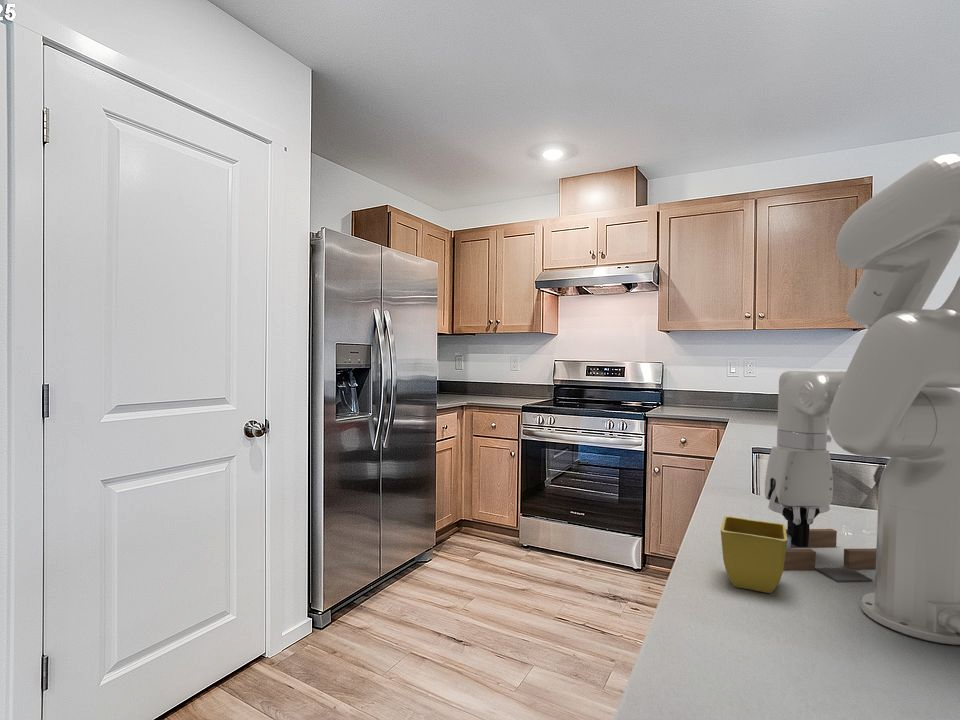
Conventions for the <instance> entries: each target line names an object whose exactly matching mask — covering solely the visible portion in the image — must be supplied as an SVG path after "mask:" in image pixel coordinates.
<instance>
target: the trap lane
mask: <svg viewBox="0 0 960 720" xmlns="http://www.w3.org/2000/svg"><path fill="white" fill-rule="evenodd" d="M786 533H787V528H786ZM837 534H838V531H837V530H835V529H833V528H809V540H808V547H807V548H799V549H798V547H797V546H795V545H793V544H791V549H786V554H785V561H784V569H783V571H817V572H819V573H820V574H822V575H824V576H826V577H827V578H829V579H831V580H833V581H835V582H836V583H848V582H849V583H856V582H857V583H858V582H863V583H865V582H873V578H870V577H868V576H867V575H864V574H863V573H861V572H859V571H857V570H876V548H874V547H873V548H843V567H816V559H817V557H816V555H817V552H816V551H815V550H814V549H811V548H837V539H838V538H837V536H838V535H837ZM794 548H795V549H794Z"/></svg>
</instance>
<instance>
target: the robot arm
mask: <svg viewBox="0 0 960 720" xmlns="http://www.w3.org/2000/svg"><path fill="white" fill-rule="evenodd" d="M959 244H960V151H957V152H950V153H944V154H941V155H938V156H935V157H933V158H929V159H928V160H925V161H924V162H922V163H920V164H919V165H917V166H916V167H914V168H912V169H911V170H910V171H909V172H907V173H905V174H904V175H902V176H901V177H899V178H898V179H896V180H895V181H894V182H892V183H891V184H890V185H888V186H887V187H885V188H884V189H882V190H881V191H879V192H878V193H876V194H875V195H874V196H872V197H871V198H869V200H867V201H865V202H864V203H863V204H861V206H860V207H857V209H856V210H855V211H854V212H853V213H852V214H851V215H850V216H849V217H848V218H847V220H845V222H844V223H843V225H842V227H841V228H840V231H839V232H838V234H837V238H836V242H835V250H836V256H837V258H838V260H839V262H841V263H842V264H843V265H844V266H846V267H848V268H851V269H853V270H855V269H856V270H863V272H862V274H861V276H860V278H859V280H858V283H857V284H856V286H855V288H854V290H853V292H852V294H851V296H850V298H849V300H848V302H847V304H846V306H845V307H846V308H845V309H846V314H847V316H848V317H849V318H850V319H851V320H852V321H853V322H854V323H855V324H857V325H858V326H860V327H862V328H864V329H866V330H867V331H866V332H865V334H864V335H863V337H862V338H861V340H860V342H859V344H858V346H857V348H856V349H855V350H856V351H855V352H854V354H853V356H852V359H851V360H850V363H849V365H848V367H847V369H846V371H807V370H804V371H803V370H789V371H785V372H782V373H781V375H779V379H778V396H777V397H778V400H777V430H776V446H772V447H771V449H770V453H769V456H768V461H767V465H766V466H767V467H766V473H765V480H764V481H765V482H764V498H765V499H767V500H768V501H769V503H768V507H767V508H768V510H770V511H772V512H774V513H779V514H781V515H782V516H783V518H784V519H785V520H786V521H787V527H786V529H787V534H789V535H790V536H791V544H793V545H795V546H797V547H796V548H809V547H808V540H809V529H810V526H811V525H813V523H814V521H815V518H817V516H818V515H821V514H824V513H827V512H829V511H830V509H831V508H830V505H831V504H832V502H833V495H834V475H833V466H832V459H831V455H830V451H829V450H827V444H828V443H831V442H832V439H833V440H834V442H835V443H836V444H837V446H839V448H841V449H842V450H844V451H846V452H848V453H849V454H853V455H856V456H859V457H867V458H889V460H888V461H887V463H886V465H885V466H884V468H883V471H882V473H881V476H880V480H879V484H878V494H877V495H878V497H877V520H876V523H877V525H876V528H877V529H876V569H875V575H874V576H875V579H874V581H875V583H874V592H869V593H866V594H863V596H862V597H861V599H860V608H861V610H862V612H863V613H865V614H866V615H867V617H869V618H870V619H872V620H873V621H874V622H876V623H878V624H880V625H882V626H884V627H887V628H888V629H891V630H892V631H895V632H898V633H901V634H903V635H906V636H910V637H912V638H917V639H920V640H924V641H928V642H933V643H938V644H939V643H940V644H946V645H957V646H960V391H958V390H956V389H959V388H960V276H959V277H958V278H957V281H956V283H955V285H954V287H953V289H952V290H951V292H950V293H949V295H948V297H947V298H946V300H945V301H944V303H943V304H942V305H941V306H940V307H938V308H935V309H926V308H925V309H923V307H924V306H925V304H926V302H927V301H928V299H929V297H930V296H931V294H932V292H933V290H934V288H935V287H936V286H937V283H938V281H939V280H940V279H941V276H942V275H943V273H944V272H945V270H946V268H947V266H948V265H949V263H950V261H951V259H952V257H953V256H954V253H955V252H956V250H957V248H958V246H959ZM954 388H955V389H954ZM828 427H829V432H830V434H831V435H829V434H828Z"/></svg>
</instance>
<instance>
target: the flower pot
mask: <svg viewBox="0 0 960 720" xmlns="http://www.w3.org/2000/svg"><path fill="white" fill-rule="evenodd" d="M786 529H787V527H786V525H785V524H784V523H780V522H779V523H778V522H769V521H764V520H755V519H747V518H742V517H736V516H729V515H728V516H727V515H726V516H723V520H722V523H721V528H720V537H721V538H720V540H721V549H722V550H721V551H722V560H723V564H724V568H725V571H726V574H727V577H728V578H729V580H730V582H731V583H732V586H733V587H735V588H739V589H746V590H752V591H756V592H760V593H767V594H771V593H773V592H774V590H775V589H776V588H777V586H778V585H779V583H780V582H781V578H782V576H783V572H784V570H783V569H784V561H785V554H786V547H787V535H786Z"/></svg>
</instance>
